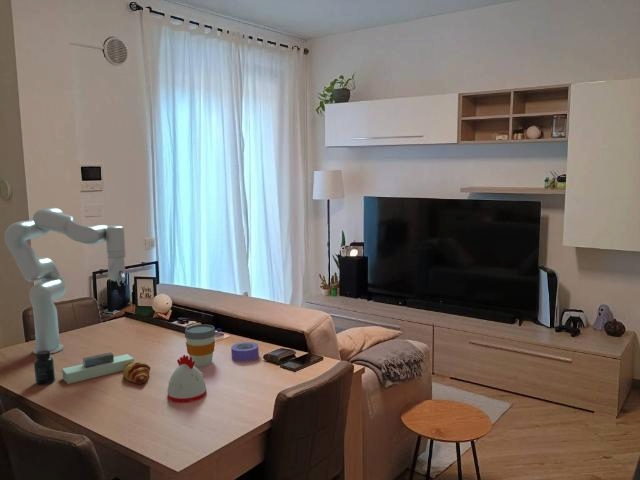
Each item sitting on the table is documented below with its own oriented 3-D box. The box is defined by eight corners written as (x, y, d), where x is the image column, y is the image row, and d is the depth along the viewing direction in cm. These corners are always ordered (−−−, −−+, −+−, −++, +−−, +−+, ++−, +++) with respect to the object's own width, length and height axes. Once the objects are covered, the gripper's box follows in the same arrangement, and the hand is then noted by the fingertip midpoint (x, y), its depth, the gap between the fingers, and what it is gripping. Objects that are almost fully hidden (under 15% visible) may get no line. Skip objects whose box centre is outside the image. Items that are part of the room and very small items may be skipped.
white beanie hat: (186, 406, 191) (185, 365, 189) (159, 397, 199) (157, 357, 197) (214, 391, 203) (212, 353, 201) (187, 384, 210) (185, 346, 208)
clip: (84, 375, 220) (82, 358, 219) (111, 368, 227) (110, 352, 226) (86, 377, 218) (85, 360, 217) (114, 370, 224) (113, 354, 223)
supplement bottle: (59, 379, 216) (56, 350, 214) (45, 386, 209) (42, 356, 208) (45, 377, 218) (43, 348, 216) (31, 384, 212) (28, 354, 210)
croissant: (124, 378, 226) (113, 363, 223) (145, 363, 230) (135, 348, 227) (136, 395, 208) (125, 379, 205) (159, 378, 212) (148, 363, 209)
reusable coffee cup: (190, 370, 224) (188, 334, 222) (182, 360, 235) (181, 326, 233) (220, 364, 230) (218, 330, 228) (211, 355, 241) (210, 322, 239)
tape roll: (226, 360, 236) (226, 348, 235) (240, 351, 247) (239, 340, 246) (250, 363, 232) (250, 352, 231) (263, 354, 242) (263, 343, 242)
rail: (62, 378, 217) (62, 368, 216) (128, 363, 233) (127, 354, 232) (67, 383, 211) (67, 373, 211) (134, 367, 228) (133, 358, 227)
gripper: (101, 252, 244) (103, 290, 246) (113, 257, 230) (115, 297, 233) (118, 250, 248) (120, 287, 251) (131, 255, 235) (133, 294, 237)
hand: (118, 292), depth 242 cm, fingers open, 9 cm apart
